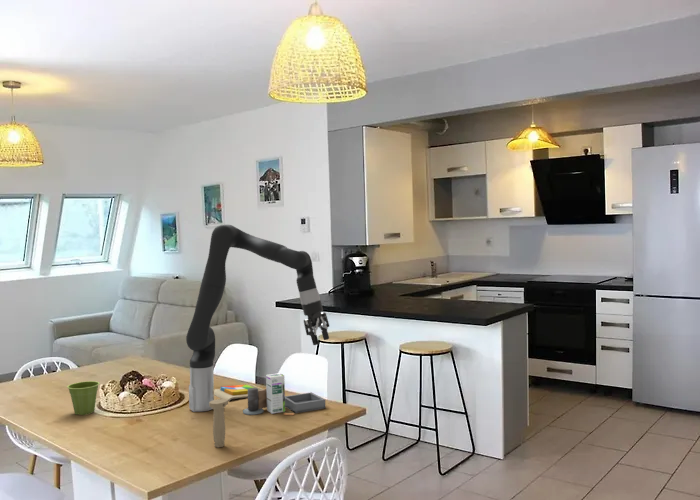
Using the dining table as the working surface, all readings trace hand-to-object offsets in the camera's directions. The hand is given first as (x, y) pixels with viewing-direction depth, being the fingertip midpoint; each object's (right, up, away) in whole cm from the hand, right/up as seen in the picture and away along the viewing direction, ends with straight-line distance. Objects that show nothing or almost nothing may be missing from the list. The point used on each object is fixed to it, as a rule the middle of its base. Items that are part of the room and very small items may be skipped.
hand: (321, 342), depth 236 cm
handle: (-32, -30, -34) cm, 55 cm away
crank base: (-21, -28, +3) cm, 35 cm away
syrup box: (-18, -28, +5) cm, 34 cm away
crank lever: (-23, -27, +7) cm, 36 cm away
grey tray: (-8, -28, +11) cm, 31 cm away
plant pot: (-94, -29, +6) cm, 99 cm away
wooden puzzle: (-38, -28, +32) cm, 57 cm away
